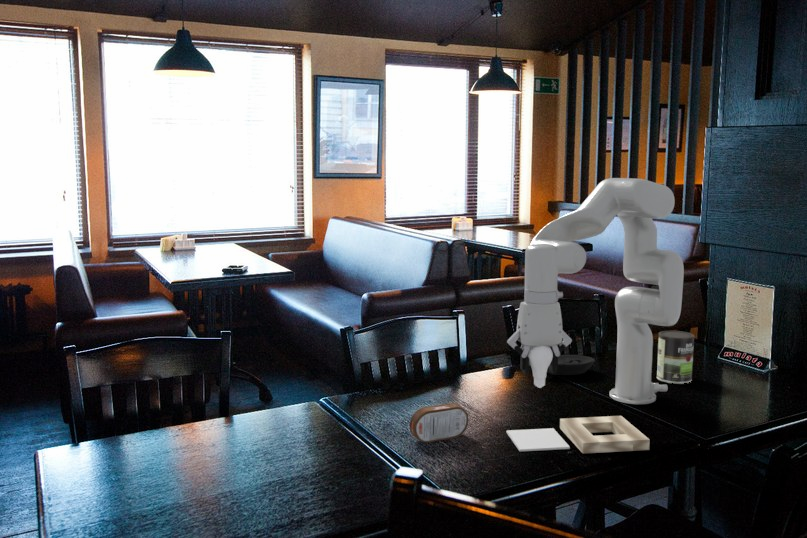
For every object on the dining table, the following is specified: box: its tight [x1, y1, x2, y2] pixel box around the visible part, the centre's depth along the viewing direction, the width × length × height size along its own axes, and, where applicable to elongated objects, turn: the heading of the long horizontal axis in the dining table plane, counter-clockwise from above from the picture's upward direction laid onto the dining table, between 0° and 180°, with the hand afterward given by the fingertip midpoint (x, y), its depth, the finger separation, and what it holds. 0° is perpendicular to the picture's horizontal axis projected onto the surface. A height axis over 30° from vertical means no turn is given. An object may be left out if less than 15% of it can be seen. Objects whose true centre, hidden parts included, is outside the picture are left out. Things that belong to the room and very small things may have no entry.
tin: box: [409, 402, 470, 444], centre depth 177 cm, size 15×3×8 cm, turn 114°
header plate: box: [559, 415, 650, 454], centre depth 177 cm, size 16×16×2 cm
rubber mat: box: [506, 427, 571, 452], centre depth 176 cm, size 12×12×1 cm
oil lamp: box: [547, 354, 596, 376], centre depth 230 cm, size 15×20×5 cm
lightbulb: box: [527, 346, 553, 389], centre depth 174 cm, size 6×6×11 cm
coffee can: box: [656, 330, 695, 385], centre depth 223 cm, size 10×10×14 cm
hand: (538, 371), depth 174 cm, fingers closed on lightbulb, 6 cm apart
